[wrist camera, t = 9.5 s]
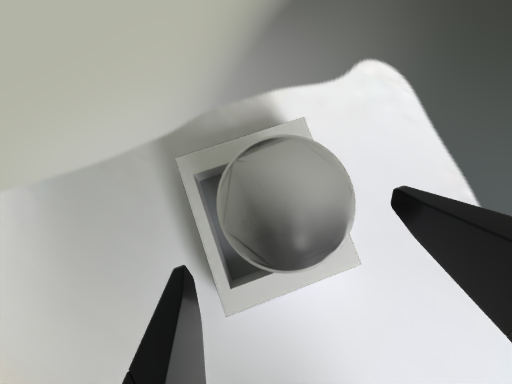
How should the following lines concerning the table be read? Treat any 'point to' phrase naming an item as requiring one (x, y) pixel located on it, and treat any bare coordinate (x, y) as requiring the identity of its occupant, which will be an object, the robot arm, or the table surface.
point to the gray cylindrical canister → (285, 204)
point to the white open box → (217, 246)
